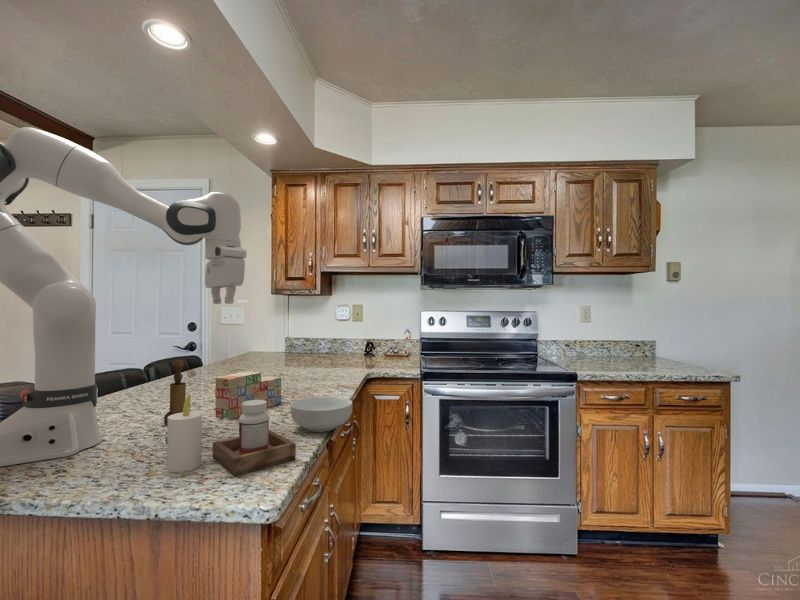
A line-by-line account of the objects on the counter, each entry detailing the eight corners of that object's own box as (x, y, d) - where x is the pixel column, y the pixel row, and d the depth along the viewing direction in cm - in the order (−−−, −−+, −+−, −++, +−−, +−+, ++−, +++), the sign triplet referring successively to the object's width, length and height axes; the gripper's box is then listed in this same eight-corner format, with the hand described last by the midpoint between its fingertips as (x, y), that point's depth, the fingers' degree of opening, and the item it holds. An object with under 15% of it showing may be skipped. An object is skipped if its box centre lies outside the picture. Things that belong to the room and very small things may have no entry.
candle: (170, 462, 85) (171, 391, 85) (203, 458, 87) (204, 390, 87) (161, 473, 79) (162, 398, 79) (197, 470, 81) (198, 396, 81)
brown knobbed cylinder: (194, 421, 115) (195, 359, 116) (171, 427, 110) (172, 361, 110) (182, 417, 119) (182, 357, 119) (159, 423, 113) (160, 360, 114)
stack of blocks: (268, 402, 139) (268, 367, 139) (281, 404, 136) (281, 368, 136) (214, 417, 120) (215, 376, 120) (229, 420, 117) (229, 378, 117)
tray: (234, 476, 77) (234, 458, 77) (212, 458, 87) (212, 442, 87) (295, 459, 86) (295, 443, 86) (269, 444, 96) (269, 429, 96)
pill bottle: (245, 449, 90) (245, 398, 90) (272, 449, 90) (272, 399, 90) (233, 459, 84) (234, 405, 84) (263, 459, 84) (263, 405, 84)
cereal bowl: (326, 441, 98) (326, 412, 98) (276, 431, 106) (277, 405, 106) (364, 423, 113) (364, 399, 113) (318, 416, 121) (318, 393, 121)
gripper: (199, 256, 114) (198, 304, 114) (224, 248, 99) (223, 303, 98) (222, 257, 118) (221, 304, 118) (249, 250, 103) (248, 303, 103)
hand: (222, 303), depth 108 cm, fingers open, 8 cm apart
